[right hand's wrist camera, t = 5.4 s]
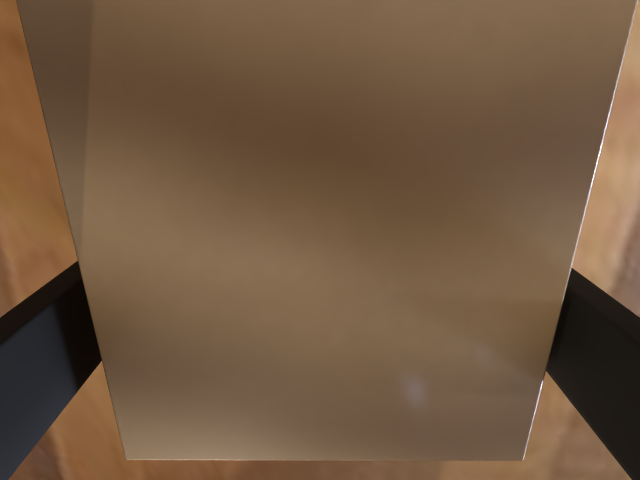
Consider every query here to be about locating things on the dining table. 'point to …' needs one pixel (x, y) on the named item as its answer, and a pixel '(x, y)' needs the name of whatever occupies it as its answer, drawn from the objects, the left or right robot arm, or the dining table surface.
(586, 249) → the dining table surface
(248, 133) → the cabinet
